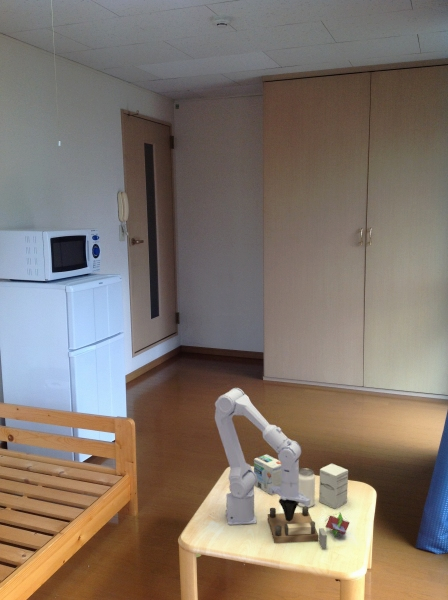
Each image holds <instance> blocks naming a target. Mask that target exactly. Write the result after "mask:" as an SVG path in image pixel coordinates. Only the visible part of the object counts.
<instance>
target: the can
mask: <svg viewBox="0 0 448 600" xmlns="http://www.w3.org/2000/svg"><path fill="white" fill-rule="evenodd" d="M299 492H300V493H301V494H303V495H304V496H306V497H307V498H310V505H309V506H307V507H308V509H309V508H312V507H313V506H315V502H316V501H315V499H316V475H315V472H314V470H312V469H310V468H305V467H304V468H303V467H302V468H299ZM297 506H299V507H301V508H302V507H303V506H304V504H302V503H298V505H297Z"/></svg>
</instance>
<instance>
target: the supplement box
mask: <svg viewBox="0 0 448 600" xmlns="http://www.w3.org/2000/svg"><path fill="white" fill-rule="evenodd" d="M348 481H349V470H348V469H346V468H344V467H342V466H339V465H336V464H334V463H330V464H327V465H326V466H322V468H320V469H319V487H318V488H319V492H318V493H319V494H318V495H319V496H318V503H322V504H324V505H325V506H328V507H330V508H332V509H334V510H336V509H338V508H340V507H342V506H343V505H345V504H347V503H348V486H349V485H348V483H349V482H348Z"/></svg>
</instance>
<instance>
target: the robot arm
mask: <svg viewBox="0 0 448 600" xmlns="http://www.w3.org/2000/svg"><path fill="white" fill-rule="evenodd" d="M214 406H215V413H214V421H215V424H216V427H217V429H218V433H219V437H220V439H221V440H220V441H221V443H222V447H223V449H224V452H225V456H226V458H227V463H228V465H229V468H230V469H229V474H228V480H229V487H228V488H229V491H230V492H228V493H226V510H225V516H226V517H227V525H229V526H232V525H249V524H250V525H251V524H257V523H258V522H257V518H256V513H255V490H254V489H255V487H256V486H255V485H256V483H257V476H256V474H255V473H254V470H253V468H252V466H251V464H249V463H247V462H246V459H245V455H244V452H243V451H242V450H243V449H242V446H241V444H240V441H239V437H238V434H237V431H236V428H235V424H234V421H233V417H234V416H244V417H245V418H246V419H248V421H250V422H251V423H252V424H253V425H254V426H255V427H256V428H257V429H259V431H260V432H261V433H262V438H263V440H264V441H265V442H266V443H267V444H268V445H269V446H270V447H271V448H272V449H273V450H274V451H275V452H276V453H277V458H278V459H277V460H279V461H280V462H281V487H278V486H274V485H273V486H271V487H270V493H275V494H274V495H278V496H279V497H280V498H279V499H278V503H279V505H280V506H281V508H282V510H283V513H284V514H285V518H286V520H287V521H291V520H292V519H293V516H294V513H296V512H295V511H296V509H297V507H298V506H299V505H298V503H302V504H304V506H306V507H307V506H309V505H310V498H307V497H306V496H304V495H303V494H301V493H300V492H299V469H300V467H299V464H300V463H299V462H300V459H299V458H300V457H301V454H302V447H301V445H300V444H299V442H297V441H296V440H292V439H290V438H288V437H287V436H286V434H285V433H283V431H282V428H280V426H277V425H275V424H270V423H269V422H268V420H266V418H265V417H264V416H263V415H262V413H260V411H259V410H258V409H257V408H256V407H255V406H254V404H253V403H252V402H251V400H250V398H249V396H248V395H247V394H246V393H245V392H244V391H243V390H242V389H241V388H239V387H234V388H232V389H230V390H229V391H227V392H226V393H223V394H222V395H220V396H218V398H217V399H216V401H215V403H214Z"/></svg>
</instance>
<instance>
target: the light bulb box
mask: <svg viewBox="0 0 448 600" xmlns="http://www.w3.org/2000/svg"><path fill="white" fill-rule="evenodd" d="M253 472H254V473H255V474H256V476H257V483H256V485H255V486H254V487H256V488H259V489H260V490H261V491H263V492H265V493H267V494H268V495H270V496H274V495H276V494H275V493H270V487H271V486H273V485H274V486H278V487H281V462H280V460H279V459H277V458H274V457H273V456H270V455H269V454H267V453H266V454H263V455H260V456H258V457H256V458H254V459H253Z"/></svg>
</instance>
